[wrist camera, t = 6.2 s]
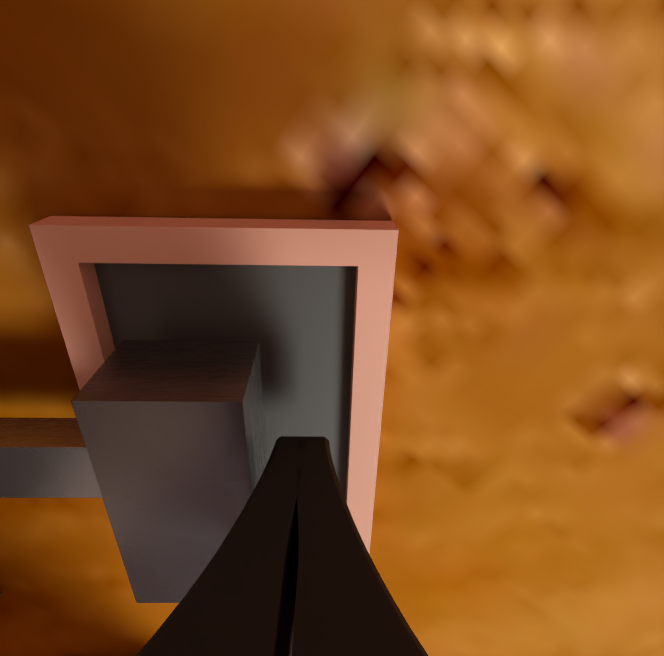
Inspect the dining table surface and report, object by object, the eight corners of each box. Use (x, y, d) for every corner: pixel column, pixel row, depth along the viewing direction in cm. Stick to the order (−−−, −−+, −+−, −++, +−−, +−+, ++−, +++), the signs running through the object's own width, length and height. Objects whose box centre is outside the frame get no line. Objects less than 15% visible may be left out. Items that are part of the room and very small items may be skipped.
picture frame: (366, 538, 15) (368, 560, 14) (141, 538, 15) (132, 560, 14) (392, 220, 10) (398, 230, 9) (50, 215, 10) (28, 224, 9)
